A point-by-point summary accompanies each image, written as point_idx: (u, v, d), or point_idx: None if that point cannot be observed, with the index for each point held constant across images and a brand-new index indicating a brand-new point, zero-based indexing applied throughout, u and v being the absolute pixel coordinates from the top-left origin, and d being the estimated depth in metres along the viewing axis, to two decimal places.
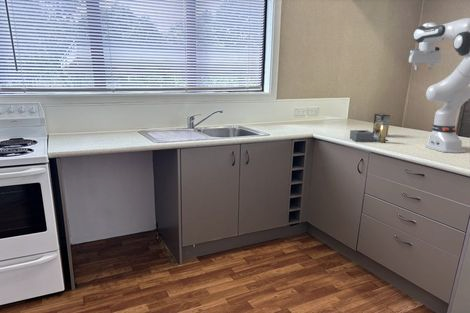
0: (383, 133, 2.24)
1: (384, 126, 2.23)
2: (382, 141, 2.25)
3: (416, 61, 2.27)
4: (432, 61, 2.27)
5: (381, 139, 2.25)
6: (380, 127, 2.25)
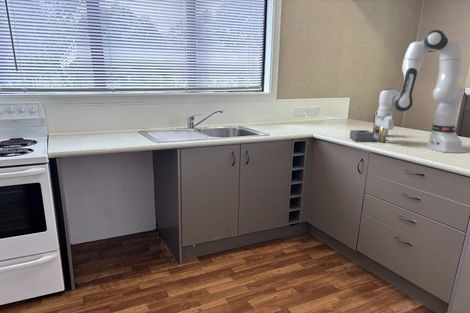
0: None
1: None
2: (382, 141, 2.25)
3: None
4: None
5: (381, 139, 2.25)
6: (380, 127, 2.25)
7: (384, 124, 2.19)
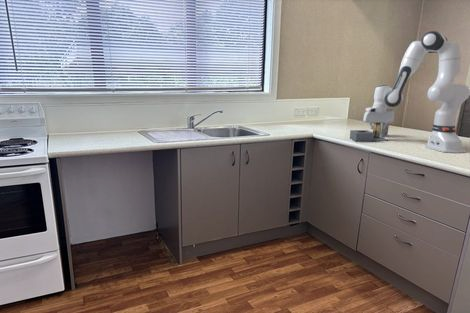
0: None
1: None
2: (379, 136, 2.37)
3: None
4: None
5: (379, 134, 2.37)
6: (378, 123, 2.35)
7: (387, 118, 2.33)
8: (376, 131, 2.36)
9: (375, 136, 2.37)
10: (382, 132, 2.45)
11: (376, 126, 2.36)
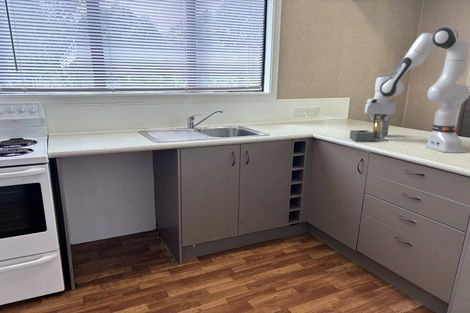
0: None
1: None
2: (379, 136, 2.37)
3: None
4: None
5: (379, 134, 2.37)
6: (378, 123, 2.35)
7: (389, 109, 2.31)
8: (376, 131, 2.36)
9: (375, 136, 2.37)
10: (382, 132, 2.45)
11: (376, 126, 2.36)
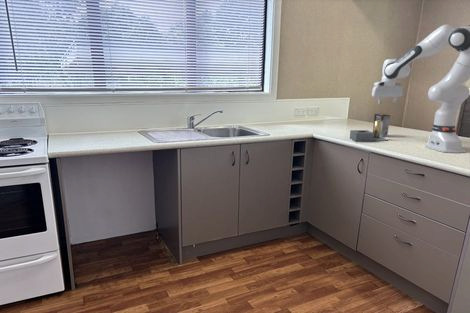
0: None
1: None
2: None
3: None
4: None
5: (379, 134, 2.36)
6: (378, 124, 2.33)
7: (396, 92, 2.30)
8: (376, 132, 2.35)
9: (375, 137, 2.37)
10: (382, 132, 2.45)
11: (376, 127, 2.34)
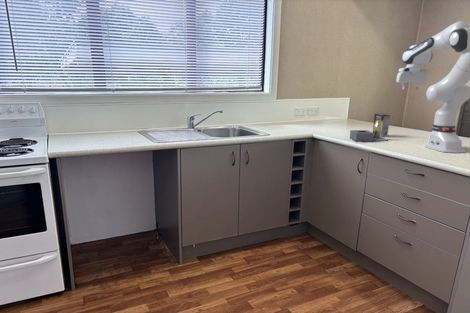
0: (380, 128, 2.37)
1: None
2: (379, 136, 2.38)
3: None
4: None
5: (379, 134, 2.37)
6: (379, 123, 2.34)
7: (420, 78, 2.34)
8: (376, 131, 2.36)
9: (375, 136, 2.37)
10: (382, 132, 2.45)
11: (377, 126, 2.35)
